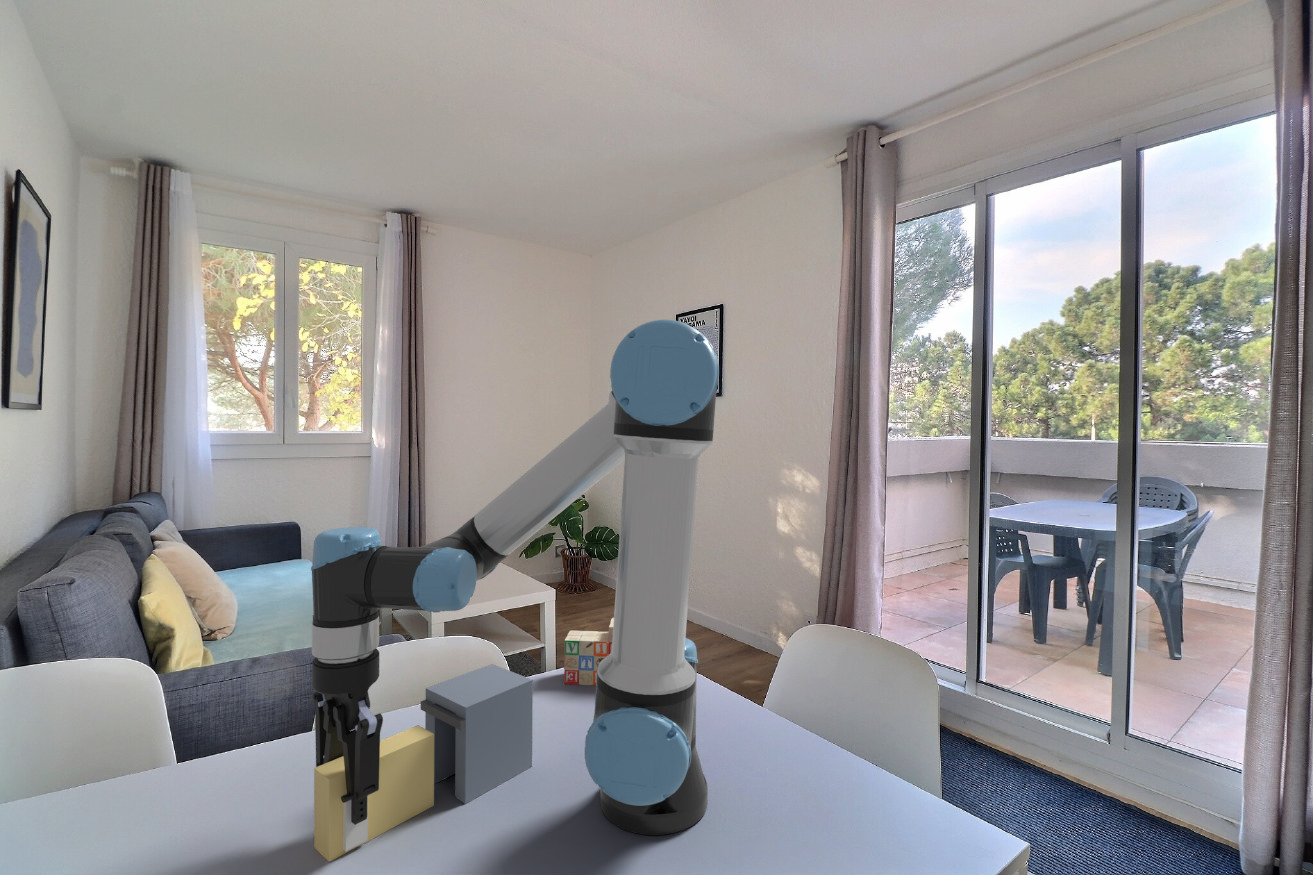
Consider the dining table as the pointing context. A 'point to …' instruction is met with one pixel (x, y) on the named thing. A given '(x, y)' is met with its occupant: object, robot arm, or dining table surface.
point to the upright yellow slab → (396, 800)
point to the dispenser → (480, 728)
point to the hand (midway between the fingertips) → (346, 836)
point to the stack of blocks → (585, 655)
